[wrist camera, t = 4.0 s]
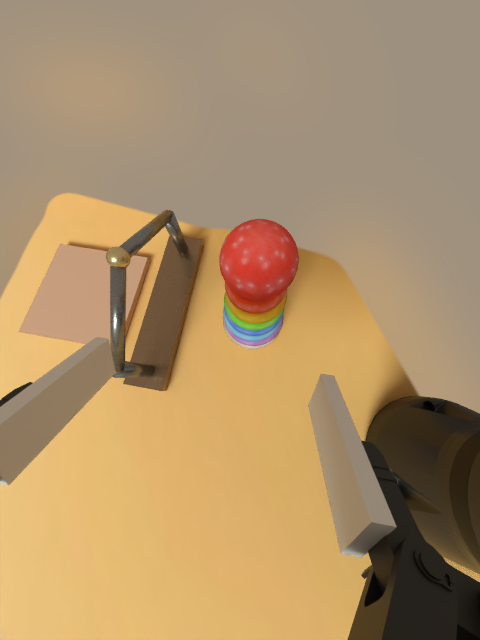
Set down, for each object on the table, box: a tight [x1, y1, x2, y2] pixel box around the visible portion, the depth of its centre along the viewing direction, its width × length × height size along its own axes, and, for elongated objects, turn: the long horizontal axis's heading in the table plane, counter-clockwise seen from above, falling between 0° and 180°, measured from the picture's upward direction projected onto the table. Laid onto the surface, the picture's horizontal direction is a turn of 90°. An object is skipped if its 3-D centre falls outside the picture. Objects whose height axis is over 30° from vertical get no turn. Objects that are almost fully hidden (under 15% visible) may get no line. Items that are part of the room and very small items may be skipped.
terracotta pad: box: [19, 244, 150, 344], centre depth 30 cm, size 14×14×1 cm
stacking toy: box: [219, 219, 299, 349], centre depth 20 cm, size 8×8×19 cm
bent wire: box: [106, 210, 204, 391], centre depth 23 cm, size 22×5×14 cm, turn 170°
